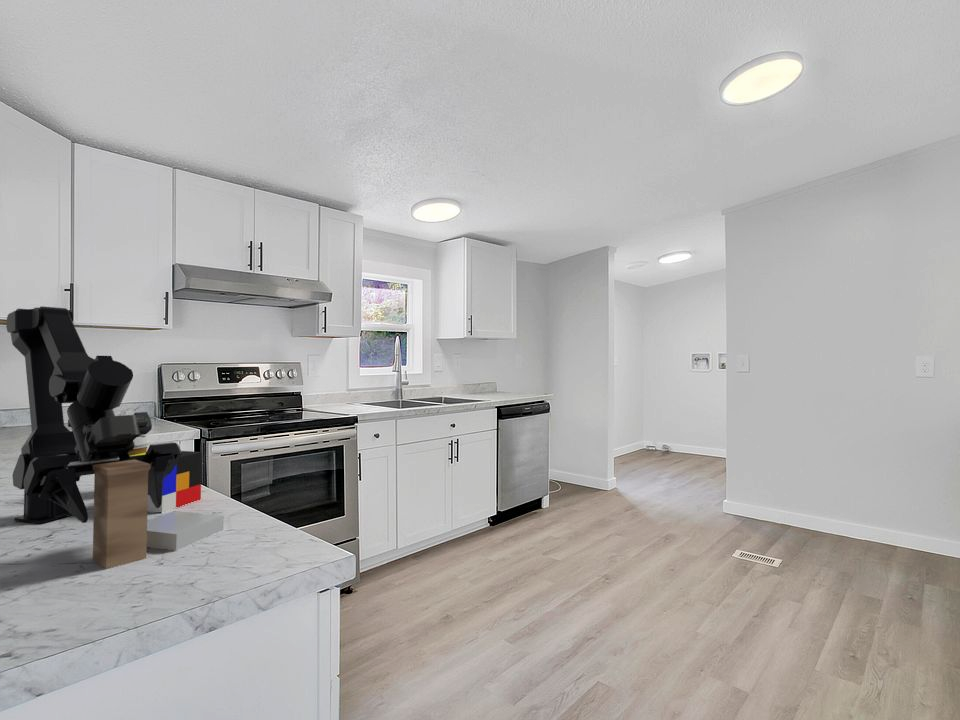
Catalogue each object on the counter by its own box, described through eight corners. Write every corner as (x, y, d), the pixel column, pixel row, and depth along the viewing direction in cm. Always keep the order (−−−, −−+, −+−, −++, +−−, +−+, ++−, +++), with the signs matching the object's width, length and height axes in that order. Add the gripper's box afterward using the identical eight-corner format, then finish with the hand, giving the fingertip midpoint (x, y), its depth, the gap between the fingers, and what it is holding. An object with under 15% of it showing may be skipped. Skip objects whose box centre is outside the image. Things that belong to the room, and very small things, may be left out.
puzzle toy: (162, 513, 97) (163, 460, 97) (117, 509, 99) (118, 457, 99) (200, 500, 107) (201, 452, 107) (159, 496, 109) (160, 449, 109)
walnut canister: (90, 560, 74) (92, 464, 74) (132, 549, 78) (134, 459, 78) (105, 570, 71) (107, 469, 71) (148, 558, 75) (150, 464, 75)
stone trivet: (122, 547, 80) (123, 528, 80) (174, 527, 90) (174, 510, 90) (176, 553, 78) (176, 534, 78) (223, 533, 88) (223, 515, 88)
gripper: (31, 398, 69) (57, 492, 63) (177, 393, 85) (210, 468, 78) (13, 450, 74) (35, 543, 67) (155, 436, 89) (184, 511, 83)
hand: (124, 513), depth 74 cm, fingers open, 9 cm apart
